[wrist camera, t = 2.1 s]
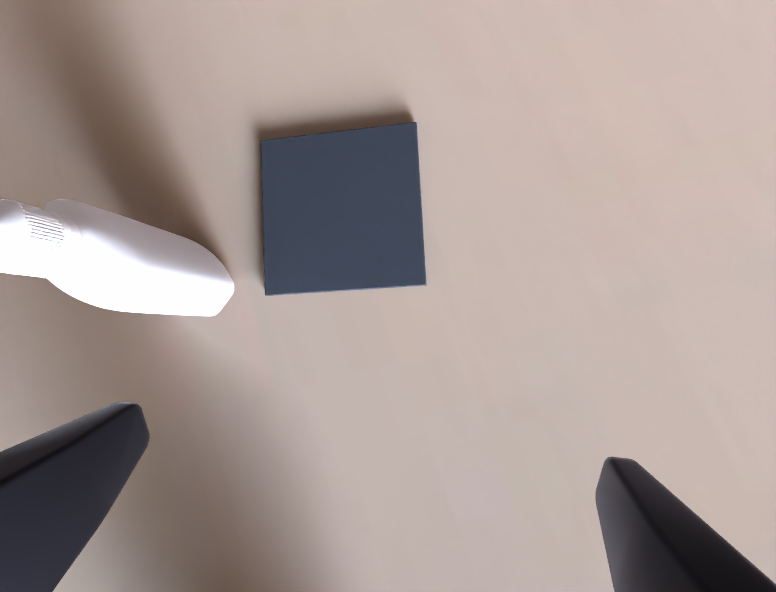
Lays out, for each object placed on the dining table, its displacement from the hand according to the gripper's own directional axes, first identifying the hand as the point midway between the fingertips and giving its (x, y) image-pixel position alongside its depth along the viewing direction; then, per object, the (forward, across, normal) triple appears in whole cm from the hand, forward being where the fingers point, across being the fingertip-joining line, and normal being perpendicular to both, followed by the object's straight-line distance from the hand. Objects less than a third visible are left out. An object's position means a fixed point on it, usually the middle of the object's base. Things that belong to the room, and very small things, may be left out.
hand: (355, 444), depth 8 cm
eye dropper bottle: (+14, +13, +3) cm, 20 cm away
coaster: (+16, +5, -1) cm, 17 cm away
